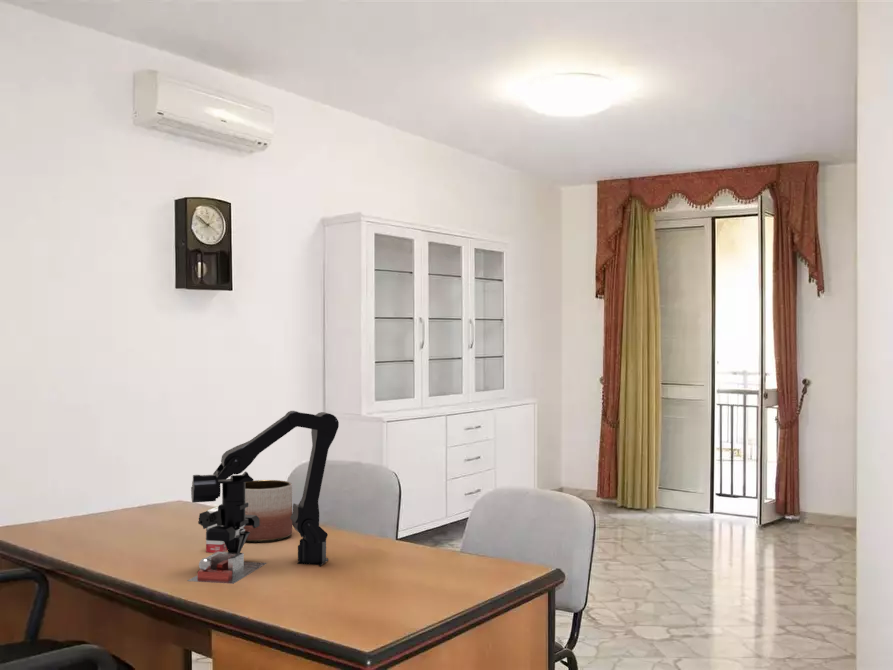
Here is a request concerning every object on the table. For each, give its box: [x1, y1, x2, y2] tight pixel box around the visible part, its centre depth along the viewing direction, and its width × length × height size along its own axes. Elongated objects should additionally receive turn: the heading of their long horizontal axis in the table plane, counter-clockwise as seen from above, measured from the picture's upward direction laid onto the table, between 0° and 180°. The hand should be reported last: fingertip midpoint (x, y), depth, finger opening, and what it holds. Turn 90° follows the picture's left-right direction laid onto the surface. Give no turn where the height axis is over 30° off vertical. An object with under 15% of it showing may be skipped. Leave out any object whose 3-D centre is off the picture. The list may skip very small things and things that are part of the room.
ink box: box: [205, 506, 228, 554], centre depth 237 cm, size 9×5×12 cm, turn 168°
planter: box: [244, 479, 293, 543], centre depth 254 cm, size 18×18×16 cm
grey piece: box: [186, 557, 268, 585], centre depth 212 cm, size 12×20×6 cm, turn 169°
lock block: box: [205, 551, 245, 577], centre depth 211 cm, size 7×6×4 cm
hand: (233, 561), depth 215 cm, fingers closed
